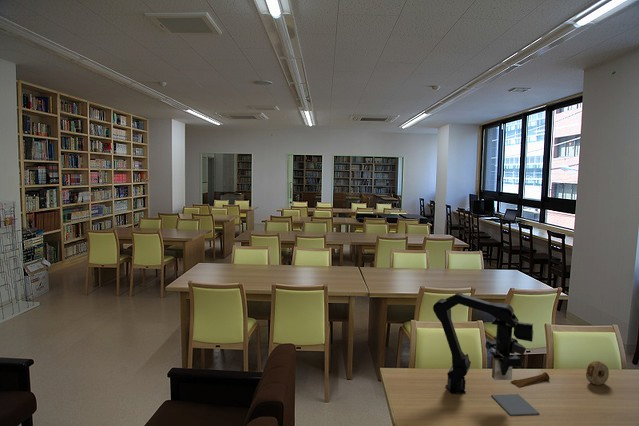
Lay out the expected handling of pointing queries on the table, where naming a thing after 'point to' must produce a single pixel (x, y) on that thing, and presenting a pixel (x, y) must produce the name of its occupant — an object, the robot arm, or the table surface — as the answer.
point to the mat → (515, 404)
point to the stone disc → (597, 373)
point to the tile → (497, 371)
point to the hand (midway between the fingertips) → (502, 373)
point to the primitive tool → (530, 380)
